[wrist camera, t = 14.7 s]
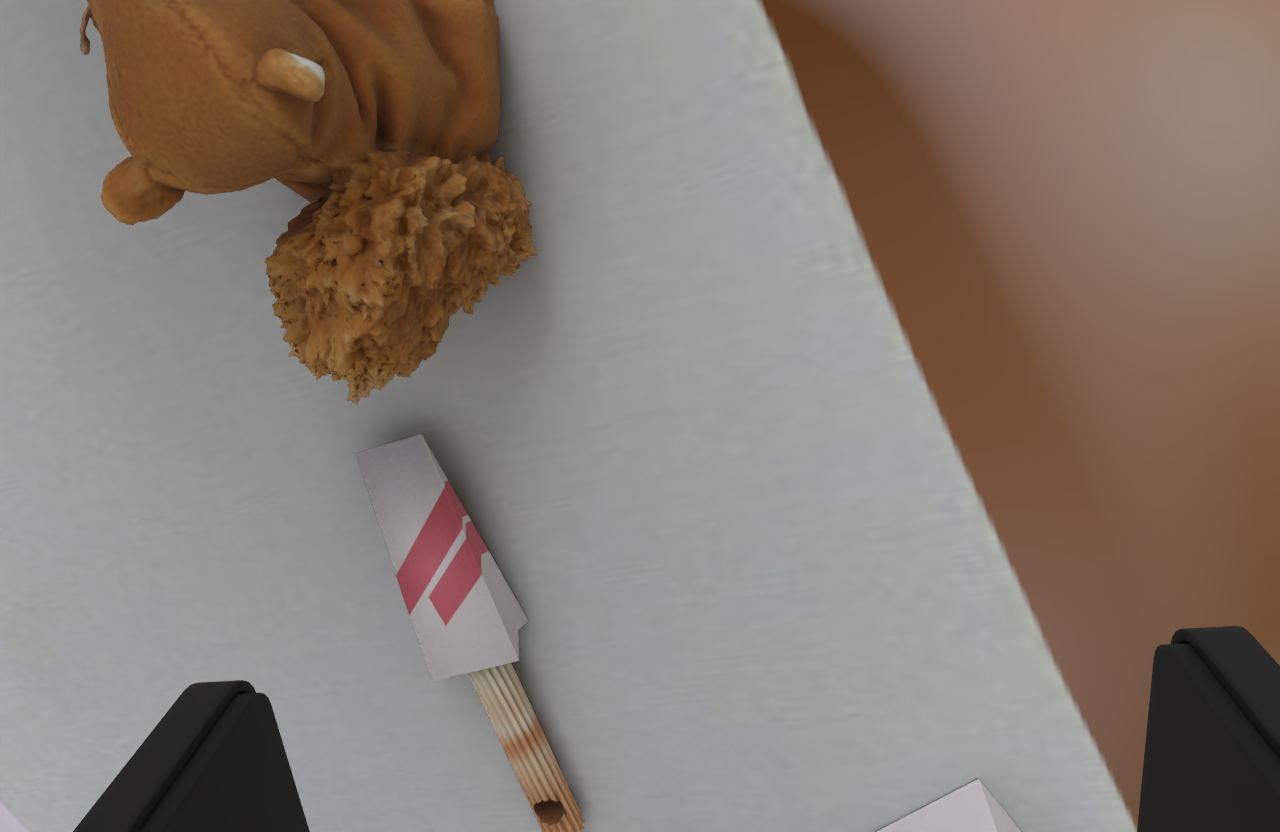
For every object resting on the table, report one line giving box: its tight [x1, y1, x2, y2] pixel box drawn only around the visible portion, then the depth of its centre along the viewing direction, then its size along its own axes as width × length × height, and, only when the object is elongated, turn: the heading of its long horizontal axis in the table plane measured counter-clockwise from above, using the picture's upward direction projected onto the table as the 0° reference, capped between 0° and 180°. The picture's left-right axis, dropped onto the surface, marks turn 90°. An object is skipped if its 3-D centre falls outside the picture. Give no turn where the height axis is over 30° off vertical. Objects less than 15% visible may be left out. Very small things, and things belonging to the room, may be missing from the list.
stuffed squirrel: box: [80, 0, 537, 405], centre depth 28 cm, size 10×14×13 cm
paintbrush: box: [355, 434, 584, 832], centre depth 40 cm, size 4×3×20 cm
